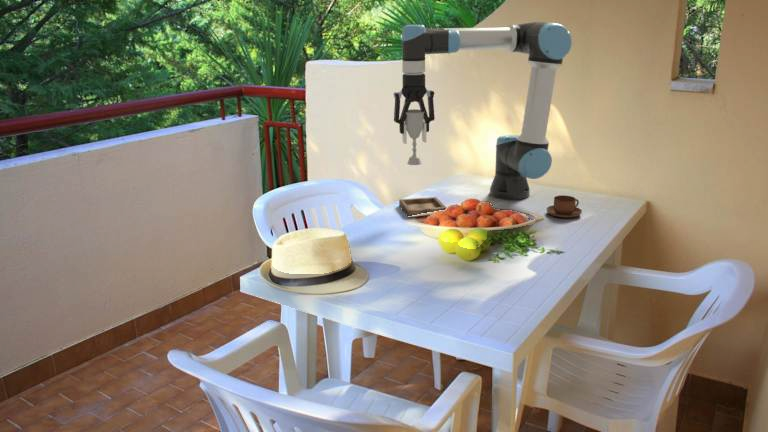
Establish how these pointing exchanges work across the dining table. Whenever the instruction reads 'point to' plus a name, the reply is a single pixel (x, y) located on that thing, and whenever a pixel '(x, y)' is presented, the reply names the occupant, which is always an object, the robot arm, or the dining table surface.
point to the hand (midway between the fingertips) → (414, 142)
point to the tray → (421, 205)
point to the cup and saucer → (564, 207)
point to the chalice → (414, 131)
